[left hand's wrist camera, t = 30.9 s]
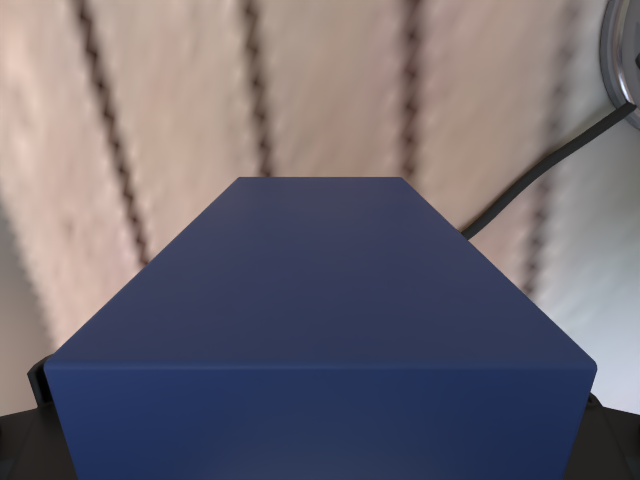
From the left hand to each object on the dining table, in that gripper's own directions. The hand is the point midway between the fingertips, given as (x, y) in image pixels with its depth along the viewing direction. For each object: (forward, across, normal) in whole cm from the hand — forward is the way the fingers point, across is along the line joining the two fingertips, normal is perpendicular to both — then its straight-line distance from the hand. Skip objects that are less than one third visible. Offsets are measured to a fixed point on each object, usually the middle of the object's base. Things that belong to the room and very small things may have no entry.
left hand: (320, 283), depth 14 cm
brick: (+3, 0, 0) cm, 3 cm away
